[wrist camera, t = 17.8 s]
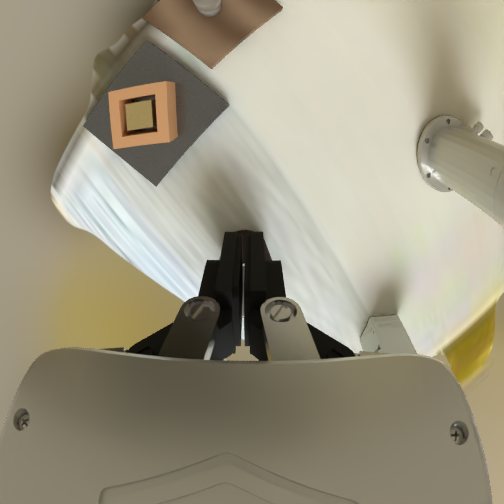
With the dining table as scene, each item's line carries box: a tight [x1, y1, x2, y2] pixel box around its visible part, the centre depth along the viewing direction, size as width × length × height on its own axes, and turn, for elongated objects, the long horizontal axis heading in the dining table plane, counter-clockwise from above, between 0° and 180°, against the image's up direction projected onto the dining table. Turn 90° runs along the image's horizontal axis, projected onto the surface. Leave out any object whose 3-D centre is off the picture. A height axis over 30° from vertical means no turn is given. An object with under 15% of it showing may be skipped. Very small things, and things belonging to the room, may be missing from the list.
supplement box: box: [360, 315, 417, 354], centre depth 48 cm, size 7×7×13 cm
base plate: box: [84, 41, 229, 186], centre depth 28 cm, size 14×14×5 cm
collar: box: [108, 81, 178, 149], centre depth 27 cm, size 7×7×4 cm
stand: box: [142, 0, 283, 69], centre depth 20 cm, size 12×12×6 cm
